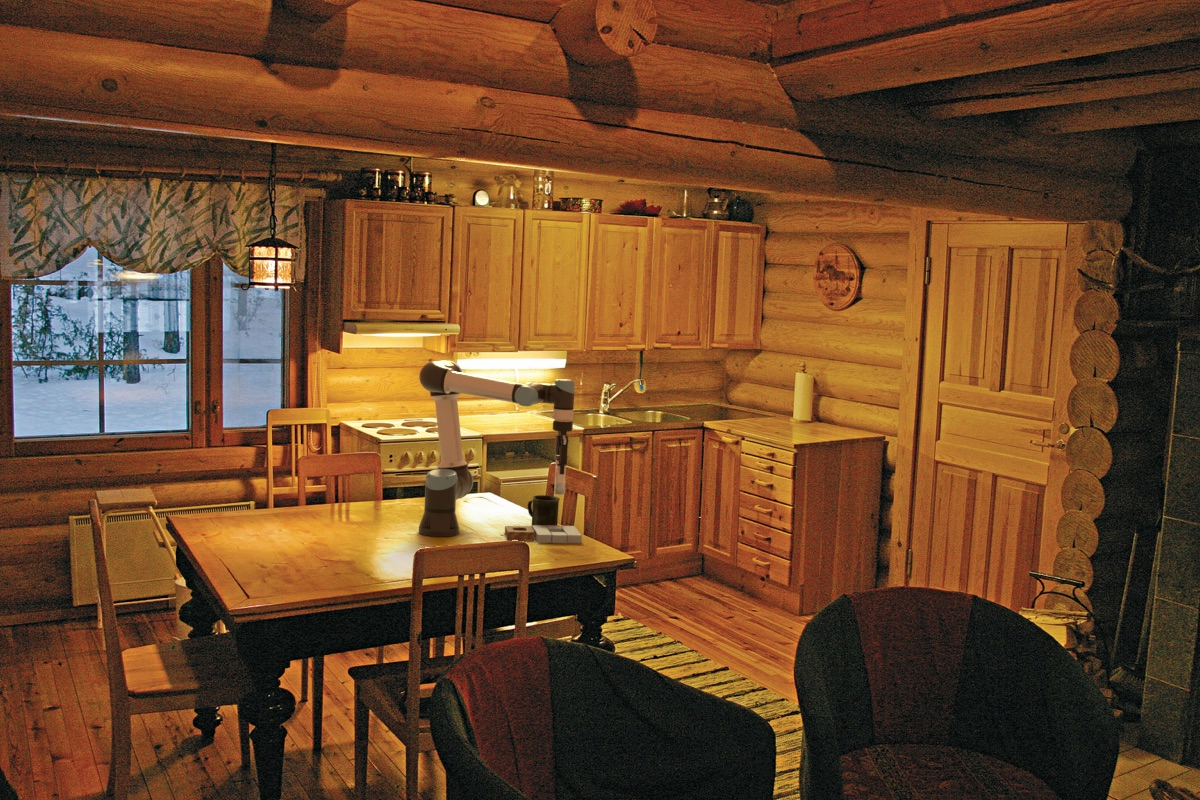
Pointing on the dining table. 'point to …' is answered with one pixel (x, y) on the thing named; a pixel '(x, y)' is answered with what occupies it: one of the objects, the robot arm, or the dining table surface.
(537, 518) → the mug
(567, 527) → the socket
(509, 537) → the mount
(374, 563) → the dining table surface
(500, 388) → the robot arm
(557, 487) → the pin
